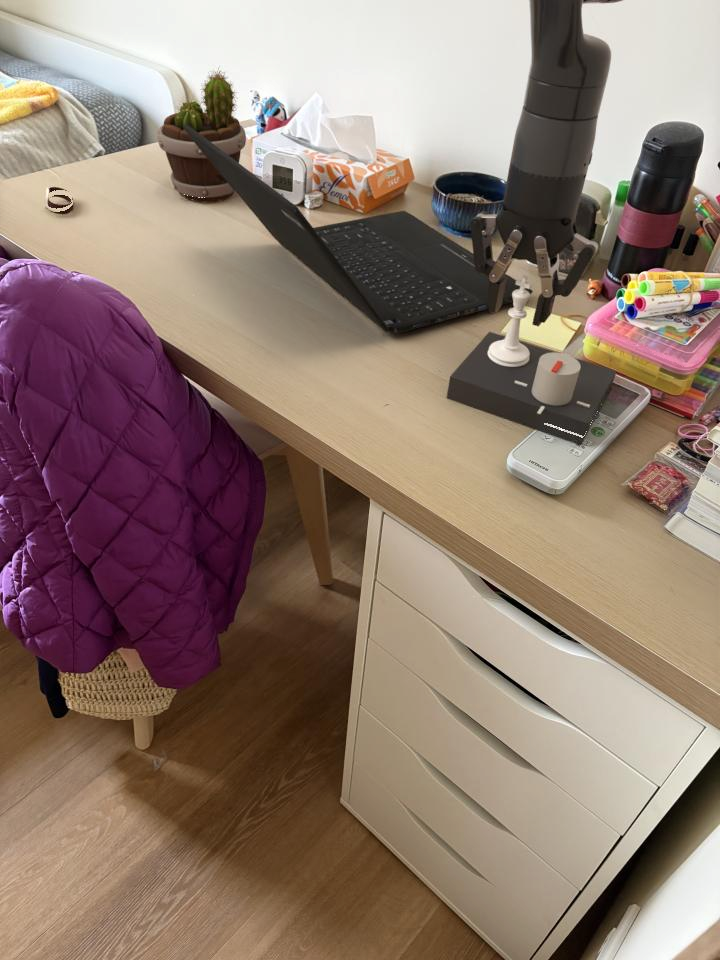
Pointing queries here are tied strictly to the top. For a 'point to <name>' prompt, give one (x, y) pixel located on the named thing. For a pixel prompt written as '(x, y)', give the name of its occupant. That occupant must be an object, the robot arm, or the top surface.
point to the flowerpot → (216, 126)
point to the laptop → (369, 255)
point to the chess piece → (513, 332)
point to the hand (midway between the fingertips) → (516, 315)
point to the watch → (57, 204)
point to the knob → (555, 378)
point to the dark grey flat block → (529, 391)
